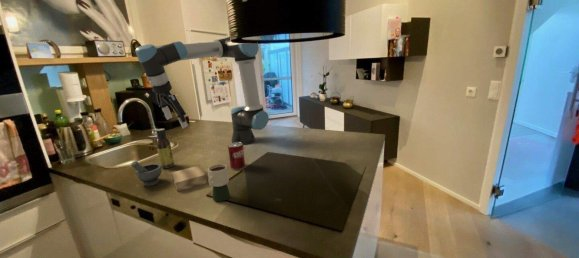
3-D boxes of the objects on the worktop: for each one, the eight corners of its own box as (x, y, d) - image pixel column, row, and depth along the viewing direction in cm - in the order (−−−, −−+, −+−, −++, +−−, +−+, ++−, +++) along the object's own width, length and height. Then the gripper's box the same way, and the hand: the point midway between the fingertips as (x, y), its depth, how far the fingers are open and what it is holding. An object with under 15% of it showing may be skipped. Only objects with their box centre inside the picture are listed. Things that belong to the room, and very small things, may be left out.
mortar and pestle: (155, 175, 113) (150, 152, 110) (168, 179, 109) (163, 155, 106) (131, 186, 104) (124, 161, 101) (143, 191, 100) (137, 165, 96)
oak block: (200, 173, 114) (199, 165, 113) (206, 182, 104) (205, 174, 103) (173, 180, 108) (171, 172, 107) (177, 191, 98) (175, 182, 97)
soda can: (227, 167, 118) (224, 145, 115) (239, 162, 124) (237, 141, 120) (236, 171, 114) (233, 148, 110) (248, 166, 119) (246, 143, 115)
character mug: (222, 190, 98) (218, 160, 94) (237, 192, 95) (233, 162, 92) (204, 204, 88) (199, 172, 84) (221, 207, 85) (216, 175, 82)
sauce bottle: (175, 166, 122) (168, 129, 117) (161, 170, 119) (153, 132, 114) (173, 162, 128) (166, 127, 122) (160, 166, 124) (152, 129, 119)
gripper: (137, 79, 107) (157, 118, 120) (167, 93, 94) (185, 134, 107) (153, 73, 112) (170, 111, 124) (183, 85, 99) (199, 126, 112)
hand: (177, 122), depth 116 cm, fingers open, 13 cm apart
